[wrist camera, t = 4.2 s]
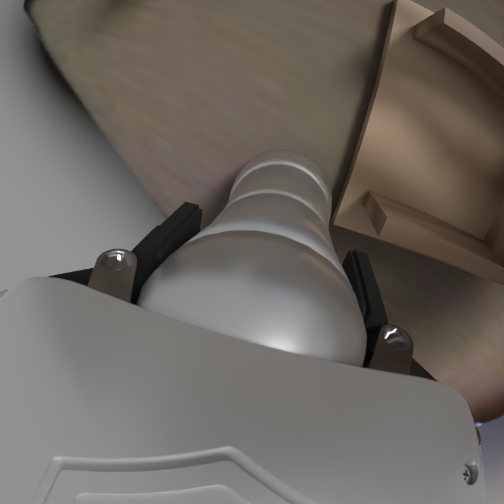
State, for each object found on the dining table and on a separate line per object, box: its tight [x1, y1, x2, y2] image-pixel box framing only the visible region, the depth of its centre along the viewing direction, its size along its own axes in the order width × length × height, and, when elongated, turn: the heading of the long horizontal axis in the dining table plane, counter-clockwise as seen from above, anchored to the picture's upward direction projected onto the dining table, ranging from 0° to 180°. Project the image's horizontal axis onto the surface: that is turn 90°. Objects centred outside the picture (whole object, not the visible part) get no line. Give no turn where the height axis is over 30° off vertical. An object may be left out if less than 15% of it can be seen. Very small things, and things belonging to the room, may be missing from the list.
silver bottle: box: [136, 150, 367, 367], centre depth 11 cm, size 6×7×20 cm
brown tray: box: [332, 0, 504, 285], centre depth 13 cm, size 18×16×6 cm
